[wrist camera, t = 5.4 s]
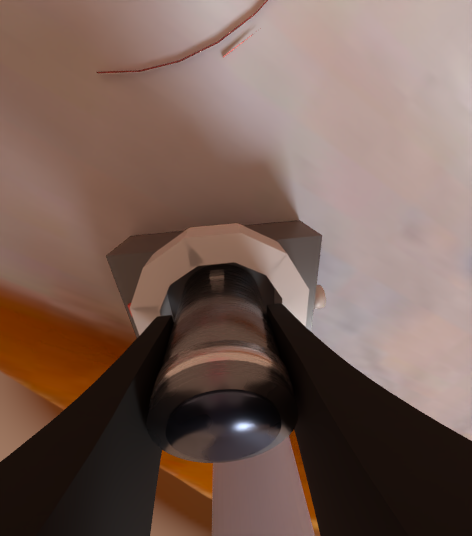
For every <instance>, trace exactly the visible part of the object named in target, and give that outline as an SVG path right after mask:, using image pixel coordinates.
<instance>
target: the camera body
mask: <svg viewBox="0 0 472 536" xmlns="http://www.w3.org/2000/svg"><path fill="white" fill-rule="evenodd" d="M321 241H322V235H321V234H319V233H318V232H316V231H315V230H313V229H312V228H310V227H309V226H307V225H306V224H304V223H303V222H301V221H300V220H299V221H289V222H278V223H267V224H256V225H245V226H243V225H240V224H238V223H233V224H222V225H211V226H200V227H189V228H188V229H187V230H185V231H180V232H169V233H158V234H147V235H136V236H130V237H129V238H128V239H126V240H125V241H124V242H123V243H121V244H120V245H119V246H118V247H116V248H115V249H114V250H113V251H111V252H110V253H109V254H108V255H106V258H107V260H108V263H109V265H110V268H111V271H112V273H113V276H114V279H115V281H116V284H117V287H118V289H119V292H120V295H121V297H122V300H123V302H124V305H125V308H126V310H127V313H128V316H129V318H130V321H131V324H132V326H133V329H134V332H135V334H136V337H137V338H138V337H139V336H140V335H141V334H142V332H143V331H144V330H145V329H146V328H147V327H148V326H149V325H150V324H151V322H152V321H153V320H154V319H155V318H156V317H157V316H167V315H172V318H173V322H174V321H175V317H176V314H177V310H178V307H179V303H180V300H181V296H182V293H183V289H184V286H185V284H186V282H187V280H188V279H189V278H190V277H191V276H192V275H193V274H194V273H195V272H196V271H198V270H199V269H201V268H203V267H206V266H209V265H212V264H231V265H235V266H238V267H240V268H242V269H244V270H245V271H247V272H248V273H249V274H250V275H251V276H252V277H253V278H254V280H255V281H256V283H257V285H258V288H259V291H260V294H261V297H262V300H263V303H264V306H265V309H266V312H267V305H270V304H280V303H282V304H283V305H284V306H285V307H286V308H287V309H288V310H289V311H290V312H291V313H292V314H293V315H294V316H295V317H296V318H297V319H298V320H299V321H300V322H301V323H302V324H303V325H304V326H305V327H306V328H307V329H308V330H310V331H311V329H312V320H313V311H314V309H318V308H324V306H325V303H326V298H325V293H324V290H323V288H322V286H321V285H317V276H318V267H319V259H320V250H321Z"/></svg>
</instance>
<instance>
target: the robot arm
mask: <svg viewBox="0 0 472 536" xmlns="http://www.w3.org/2000/svg"><path fill="white" fill-rule="evenodd" d="M267 315H268V319H269V322H270V325H271V328H272V331H273V334H274V337H275V340H276V343H277V346H278V349H279V352H280V355H281V358H282V361H283V363H284V365H285V367H286V369H287V371H288V374H289V377H290V380H291V383H292V386H293V389H294V393H295V401H296V404H297V408H298V420H297V423H296V426H295V428H294V430H295V433H296V437H297V441H298V445H299V449H300V453H301V457H302V461H303V465H304V468H305V473H306V477H307V481H308V485H309V489H310V493H311V497H312V501H313V505H314V509H315V514H316V518H317V522H318V527H319V531H320V535H321V536H472V441H471V440H469V439H467V438H465V437H464V436H462V435H460V434H458V433H456V432H455V431H453V430H451V429H449V428H448V427H446V426H444V425H442V424H441V423H439V422H437V421H436V420H434V419H432V418H431V417H429V416H427V415H425V414H424V413H422V412H420V411H419V410H417V409H416V408H414V407H412V406H411V405H409V404H408V403H406V402H405V401H403V400H401V399H400V398H398V397H397V396H395V395H393V394H392V393H390V392H389V391H387V390H386V389H384V388H383V387H381V386H380V385H378V384H377V383H375V382H374V381H372V380H371V379H369V378H368V377H367V376H365V375H364V374H362V373H361V372H360V371H358V370H357V369H355V368H354V367H353V366H351V365H350V364H349V363H347V362H346V361H345V360H344V359H342V358H341V357H340V356H339V355H337V354H336V353H335V352H334V351H332V350H331V349H330V348H329V347H328V346H326V345H325V344H324V343H323V342H322V341H321V340H320V339H318V338H317V337H316V336H315V335H314V334H313V333H312V332H311V331H310V330H308V329H307V328H306V327H305V326H304V325H303V324H302V323H301V322H300V321H299V320H298V319H297V318H296V317H295V316H294V315H293V314H292V313H291V312H290V311H289V310H288V309H287V308H286V307H285V306H284V305H283V304H282V303H280V304H270V305H267ZM173 325H174V322H173V318H172V315H167V316H157V317H156V318H155V319H154V320H153V321H152V322H151V324H150V325H149V326H148V327H147V328H146V329H145V330H144V331H143V332H142V334H141V335H140V336H139V337H138V338H137V339H136V340H135V341H134V342H133V343H132V345H131V346H130V347H129V348H128V349H127V350H126V351H125V352H124V353H123V354H122V355H121V356H120V358H119V359H118V360H117V361H116V362H115V363H114V364H113V365H112V366H111V367H110V368H109V369H108V370H107V371H106V372H105V373H104V374H103V375H102V376H101V377H100V378H99V379H98V380H97V381H96V382H95V383H93V384H92V385H91V386H90V387H89V388H88V389H87V390H86V391H85V392H84V393H83V394H82V395H81V396H80V397H78V398H77V399H76V400H75V401H74V402H73V403H72V404H71V405H69V406H68V407H67V408H66V409H65V410H64V411H63V412H61V413H60V415H58V416H57V417H56V418H54V419H53V420H52V421H51V422H50V423H49V424H48V425H46V426H45V427H44V428H42V429H41V430H40V431H39V432H37V433H36V434H35V435H34V436H32V438H30V439H29V440H27V441H26V442H25V443H24V444H22V445H21V446H20V447H19V448H17V449H16V450H15V451H14V452H13V453H11V454H10V455H9V456H8V457H6V458H5V459H4V460H2V461H1V462H0V536H150V531H151V523H152V515H153V508H154V501H155V492H156V486H157V479H158V472H159V465H160V458H161V452H162V449H161V448H160V447H158V446H157V445H156V444H155V443H154V442H153V441H152V439H151V438H150V436H149V434H148V431H147V424H146V423H147V417H148V413H149V404H150V399H151V395H152V392H153V389H154V385H155V382H156V379H157V376H158V373H159V372H160V370H161V367H162V363H163V360H164V356H165V353H166V349H167V346H168V342H169V339H170V335H171V332H172V328H173ZM212 536H315V535H314V531H313V527H312V523H311V520H310V516H309V512H308V508H307V504H306V500H305V496H304V493H303V489H302V485H301V481H300V477H299V473H298V470H297V466H296V462H295V458H294V454H293V450H292V447H291V443H290V439H289V436H288V437H287V438H286V439H285V440H284V441H282V442H281V443H280V444H278V445H277V446H275V447H274V448H272V449H270V450H268V451H266V452H264V453H262V454H259V455H257V456H254V457H251V458H247V459H243V460H238V461H232V462H223V463H213V504H212Z"/></svg>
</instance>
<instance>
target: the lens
mask: <svg viewBox="0 0 472 536" xmlns="http://www.w3.org/2000/svg"><path fill="white" fill-rule="evenodd" d="M297 420H298V408H297V404H296V401H295V393H294V389H293V386H292V383H291V380H290V377H289V374H288V371H287V369H286V367H285V365H284V363H283V361H282V358H281V355H280V352H279V349H278V346H277V343H276V340H275V337H274V334H273V331H272V328H271V325H270V322H269V319H268V315H267V312H266V309H265V306H264V303H263V300H262V297H261V294H260V291H259V288H258V285H257V283H256V281H255V280H254V278H253V277H252V276H251V275H250V274H249V273H248V272H247V271H245V270H244V269H242V268H240V267H238V266H235V265H231V264H212V265H209V266H206V267H203V268H201V269H199V270H198V271H196V272H195V273H194V274H193V275H192V276H191V277H190V278H189V279H188V280H187V282H186V284H185V286H184V289H183V293H182V296H181V300H180V303H179V307H178V310H177V314H176V317H175V321H174V325H173V328H172V332H171V335H170V339H169V342H168V346H167V349H166V353H165V356H164V360H163V363H162V367H161V370H160V372H159V373H158V376H157V379H156V382H155V385H154V389H153V392H152V395H151V399H150V404H149V413H148V417H147V423H146V424H147V431H148V434H149V436H150V438H151V439H152V441H153V442H154V443H155V444H156V445H157V446H158V447H160V448H161V449H162V450H164V451H165V452H167V453H169V454H171V455H173V456H176V457H179V458H182V459H186V460H190V461H195V462H204V463H223V462H232V461H238V460H243V459H247V458H251V457H254V456H257V455H259V454H262V453H264V452H266V451H268V450H270V449H272V448H274V447H275V446H277V445H278V444H280V443H281V442H282V441H284V440H285V439H286V438H287V437H288V436H289V435H290V433H291V432H292V431H293V429H294V428H295V426H296V423H297Z"/></svg>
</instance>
